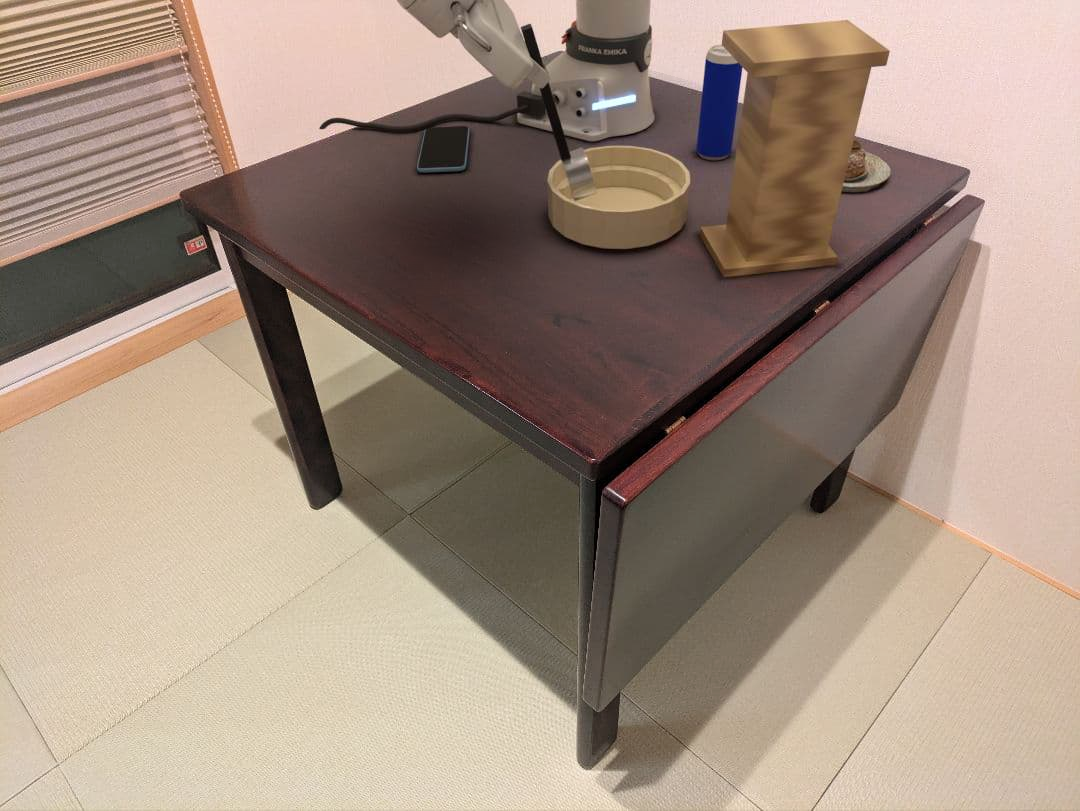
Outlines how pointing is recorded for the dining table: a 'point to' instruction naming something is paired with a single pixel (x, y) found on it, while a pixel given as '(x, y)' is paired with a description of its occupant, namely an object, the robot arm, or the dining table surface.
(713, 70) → the beverage can
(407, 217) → the dining table surface
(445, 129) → the smartphone
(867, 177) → the pastry
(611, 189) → the bowl
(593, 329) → the dining table surface
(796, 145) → the wooden column stand
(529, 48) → the black handled spatula
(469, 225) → the dining table surface
